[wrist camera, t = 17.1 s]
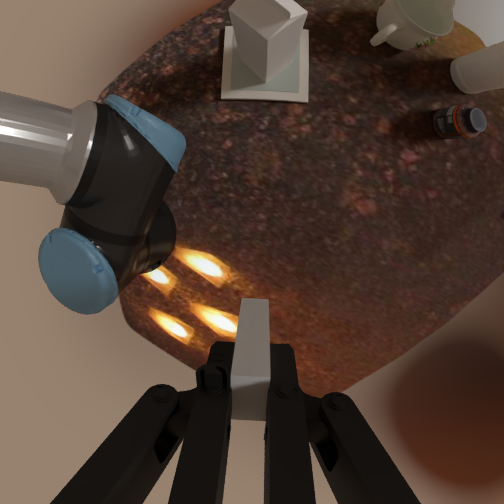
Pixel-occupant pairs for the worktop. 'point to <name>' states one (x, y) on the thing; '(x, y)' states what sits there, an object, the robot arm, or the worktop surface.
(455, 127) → the supplement bottle
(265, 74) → the milk
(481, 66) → the bottle
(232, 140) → the worktop surface
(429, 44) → the pitcher
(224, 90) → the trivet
